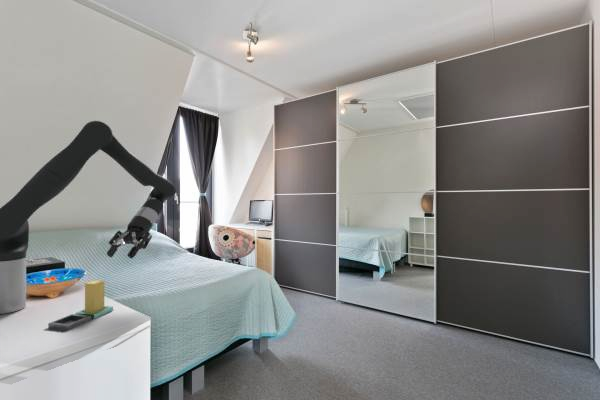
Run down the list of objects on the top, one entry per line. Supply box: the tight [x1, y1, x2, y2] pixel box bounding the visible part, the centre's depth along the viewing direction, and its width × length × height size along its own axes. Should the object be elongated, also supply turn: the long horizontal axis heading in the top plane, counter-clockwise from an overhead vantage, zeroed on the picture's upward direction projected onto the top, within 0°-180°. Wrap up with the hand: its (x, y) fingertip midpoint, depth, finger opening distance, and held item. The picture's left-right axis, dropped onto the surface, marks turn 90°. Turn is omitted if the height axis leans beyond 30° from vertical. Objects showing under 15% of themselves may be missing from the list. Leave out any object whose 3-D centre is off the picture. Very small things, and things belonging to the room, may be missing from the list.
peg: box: [84, 279, 105, 314], centre depth 95 cm, size 4×4×10 cm
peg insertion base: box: [43, 305, 114, 334], centre depth 90 cm, size 7×17×2 cm, turn 168°
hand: (119, 256), depth 104 cm, fingers open, 8 cm apart
